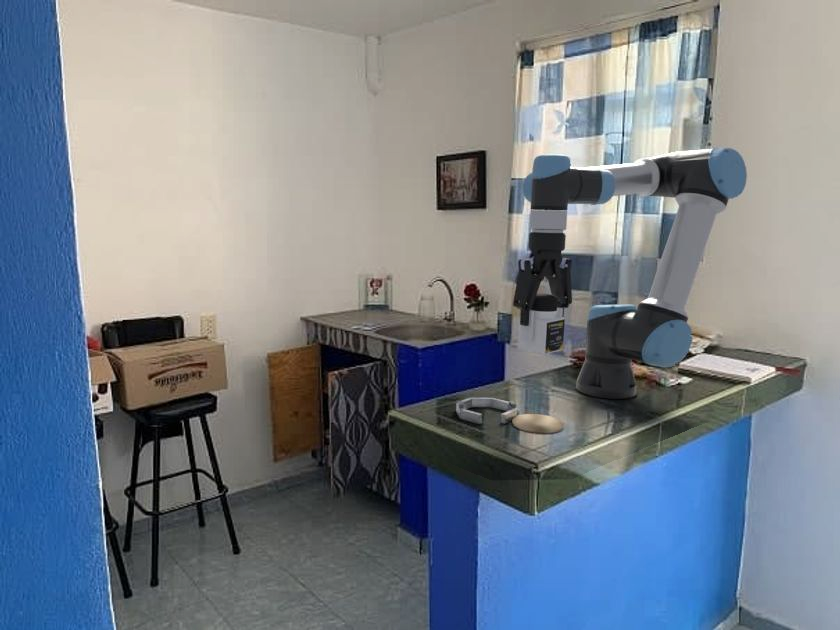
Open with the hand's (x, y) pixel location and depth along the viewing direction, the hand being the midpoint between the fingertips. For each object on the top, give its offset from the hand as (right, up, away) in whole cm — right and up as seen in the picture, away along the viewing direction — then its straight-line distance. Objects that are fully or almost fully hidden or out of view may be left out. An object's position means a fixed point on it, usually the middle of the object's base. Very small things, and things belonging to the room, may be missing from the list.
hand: (541, 338), depth 133 cm
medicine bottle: (0, -3, 0) cm, 3 cm away
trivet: (0, -19, +3) cm, 19 cm away
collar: (-11, -18, +9) cm, 22 cm away
